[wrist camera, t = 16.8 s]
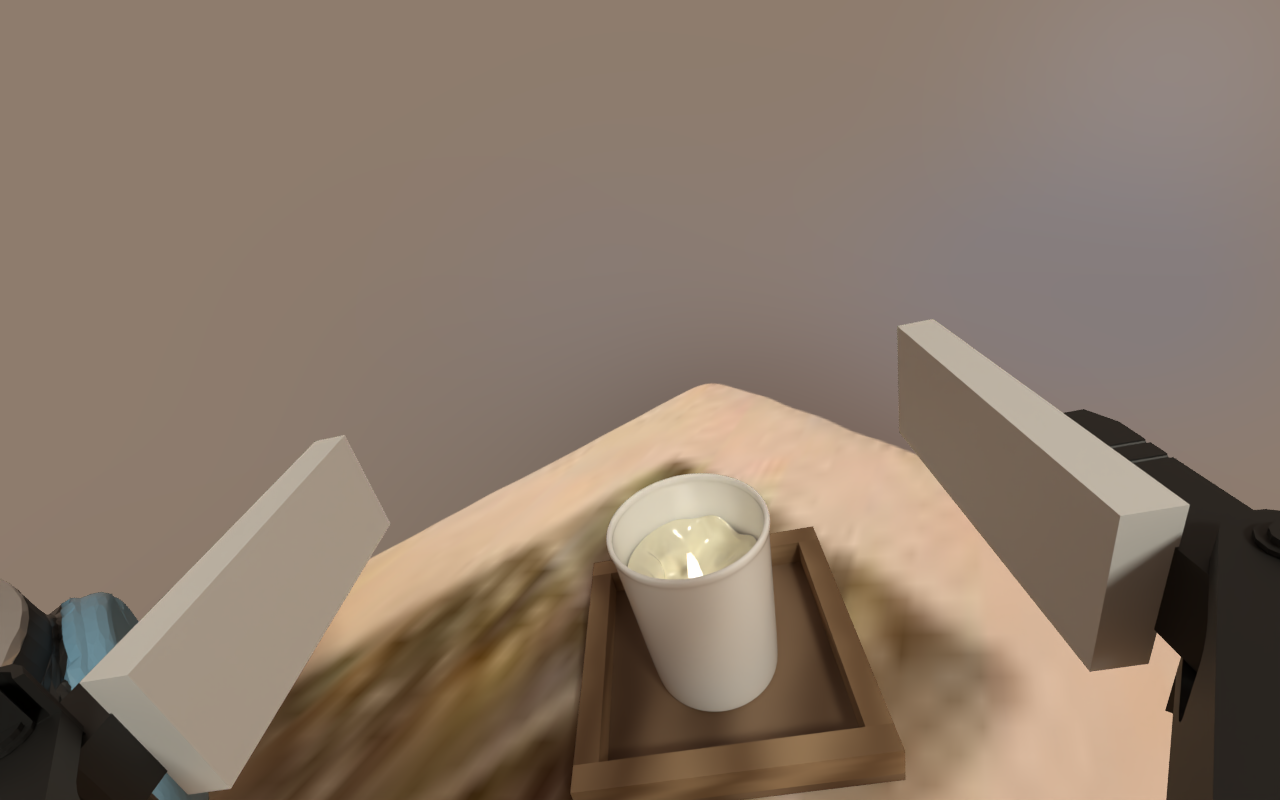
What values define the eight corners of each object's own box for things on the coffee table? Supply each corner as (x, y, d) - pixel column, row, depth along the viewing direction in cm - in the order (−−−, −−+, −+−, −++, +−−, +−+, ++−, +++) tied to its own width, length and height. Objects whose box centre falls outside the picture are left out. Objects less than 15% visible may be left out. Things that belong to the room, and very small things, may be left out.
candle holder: (709, 582, 46) (682, 457, 41) (819, 645, 39) (803, 503, 34) (618, 668, 41) (573, 537, 35) (726, 758, 34) (690, 611, 28)
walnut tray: (582, 819, 33) (570, 793, 32) (601, 585, 49) (593, 563, 48) (905, 779, 31) (904, 750, 30) (815, 551, 47) (812, 526, 46)
